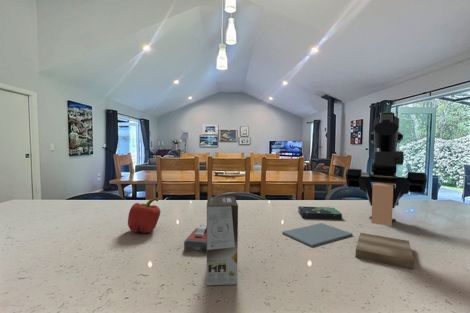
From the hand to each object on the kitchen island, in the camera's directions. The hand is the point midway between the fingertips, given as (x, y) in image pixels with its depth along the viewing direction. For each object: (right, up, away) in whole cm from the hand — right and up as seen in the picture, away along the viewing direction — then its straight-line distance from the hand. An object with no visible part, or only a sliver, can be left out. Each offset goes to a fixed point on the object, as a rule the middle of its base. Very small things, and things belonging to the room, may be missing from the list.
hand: (382, 206), depth 65 cm
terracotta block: (+1, -5, +1) cm, 5 cm away
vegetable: (-67, -11, +17) cm, 70 cm away
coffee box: (-41, -13, -10) cm, 44 cm away
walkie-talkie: (-46, -12, +10) cm, 48 cm away
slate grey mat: (-12, -12, +14) cm, 22 cm away
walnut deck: (+1, -12, +2) cm, 13 cm away
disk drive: (-4, -11, +36) cm, 38 cm away
